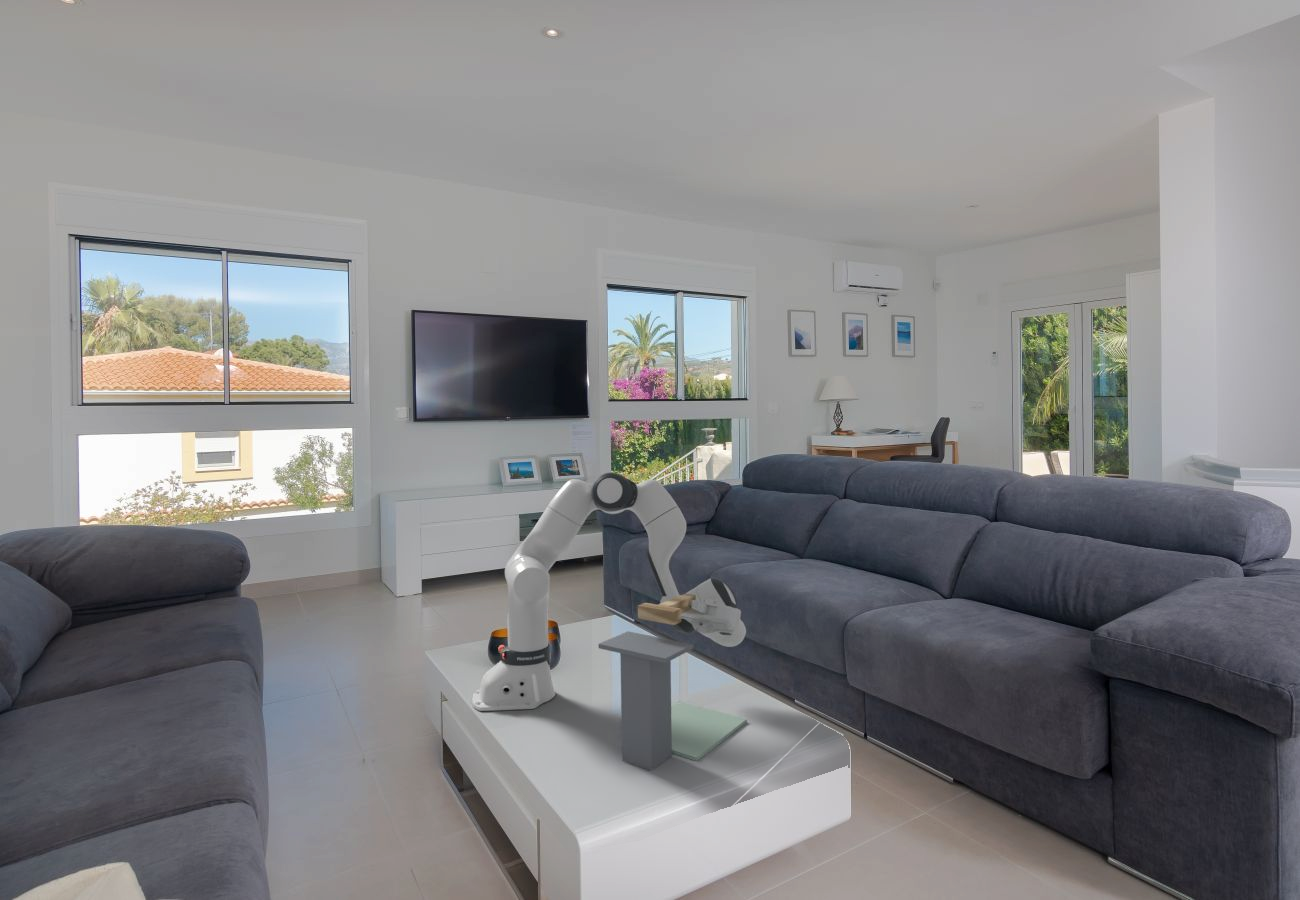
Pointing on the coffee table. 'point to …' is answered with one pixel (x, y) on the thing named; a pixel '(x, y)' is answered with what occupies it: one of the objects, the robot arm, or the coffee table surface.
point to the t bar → (666, 610)
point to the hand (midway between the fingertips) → (683, 601)
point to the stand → (646, 695)
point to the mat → (699, 729)
